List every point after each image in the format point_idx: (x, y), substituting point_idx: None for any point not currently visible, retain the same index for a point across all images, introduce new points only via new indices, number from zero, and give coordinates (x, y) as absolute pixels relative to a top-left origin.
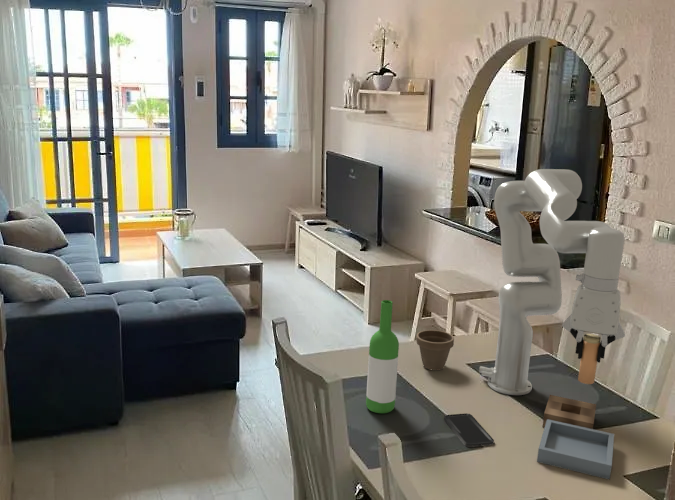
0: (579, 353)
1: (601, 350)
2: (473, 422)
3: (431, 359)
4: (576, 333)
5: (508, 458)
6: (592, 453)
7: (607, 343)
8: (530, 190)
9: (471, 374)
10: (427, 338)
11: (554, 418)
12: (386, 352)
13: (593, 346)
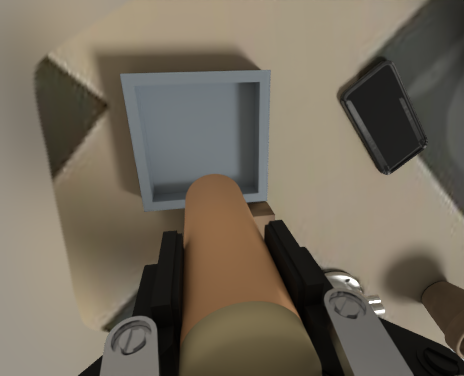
0: (286, 235)
1: (156, 282)
2: (378, 149)
3: (458, 292)
4: (398, 357)
5: (312, 55)
6: (172, 145)
7: (109, 360)
8: None
9: (381, 300)
10: None
11: (254, 213)
12: None
13: (219, 287)
